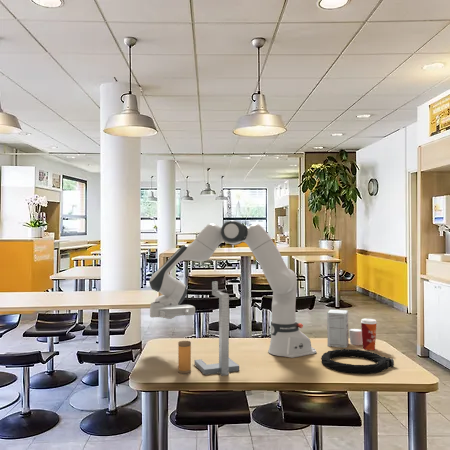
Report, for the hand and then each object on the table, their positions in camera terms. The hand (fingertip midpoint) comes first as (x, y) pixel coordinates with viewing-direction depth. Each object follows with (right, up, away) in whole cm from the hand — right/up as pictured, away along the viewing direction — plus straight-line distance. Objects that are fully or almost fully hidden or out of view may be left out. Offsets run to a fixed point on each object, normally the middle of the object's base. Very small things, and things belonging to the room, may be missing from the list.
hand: (176, 314), depth 196 cm
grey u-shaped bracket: (+17, -21, -7) cm, 28 cm away
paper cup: (+91, -21, +23) cm, 96 cm away
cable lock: (+77, -22, -2) cm, 80 cm away
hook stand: (+19, -21, -10) cm, 30 cm away
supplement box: (+77, -21, +30) cm, 86 cm away
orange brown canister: (+5, -21, -12) cm, 25 cm away
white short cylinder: (+87, -21, +33) cm, 96 cm away
